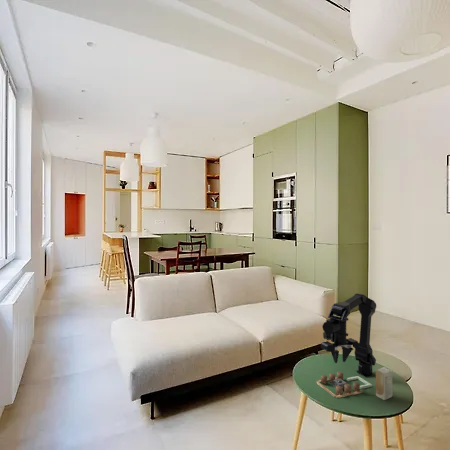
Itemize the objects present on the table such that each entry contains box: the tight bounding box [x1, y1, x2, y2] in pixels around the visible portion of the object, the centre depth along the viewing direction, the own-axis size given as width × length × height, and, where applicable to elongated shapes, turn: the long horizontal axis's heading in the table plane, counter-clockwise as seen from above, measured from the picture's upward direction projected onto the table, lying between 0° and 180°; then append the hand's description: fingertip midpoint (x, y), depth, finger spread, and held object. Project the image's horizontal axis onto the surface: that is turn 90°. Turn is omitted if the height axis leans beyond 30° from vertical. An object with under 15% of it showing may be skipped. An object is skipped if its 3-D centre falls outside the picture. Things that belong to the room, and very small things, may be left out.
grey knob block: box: [332, 379, 348, 390], centre depth 145 cm, size 4×4×3 cm
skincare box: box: [375, 366, 393, 401], centre depth 137 cm, size 6×4×12 cm
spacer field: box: [315, 371, 364, 399], centre depth 145 cm, size 16×15×4 cm
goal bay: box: [346, 375, 373, 390], centre depth 149 cm, size 7×9×1 cm
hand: (339, 362), depth 145 cm, fingers open, 5 cm apart
